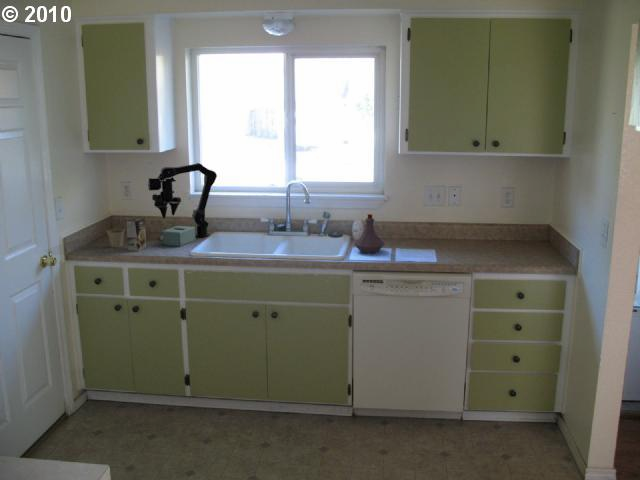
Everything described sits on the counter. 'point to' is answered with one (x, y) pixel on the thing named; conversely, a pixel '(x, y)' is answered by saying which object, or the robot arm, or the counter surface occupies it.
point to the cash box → (178, 236)
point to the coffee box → (136, 234)
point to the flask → (369, 238)
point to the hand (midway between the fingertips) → (168, 216)
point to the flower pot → (116, 237)
